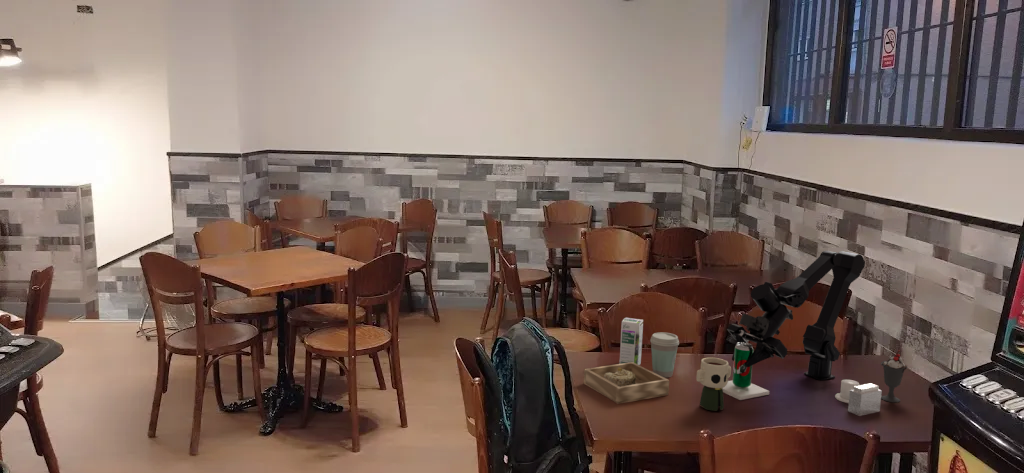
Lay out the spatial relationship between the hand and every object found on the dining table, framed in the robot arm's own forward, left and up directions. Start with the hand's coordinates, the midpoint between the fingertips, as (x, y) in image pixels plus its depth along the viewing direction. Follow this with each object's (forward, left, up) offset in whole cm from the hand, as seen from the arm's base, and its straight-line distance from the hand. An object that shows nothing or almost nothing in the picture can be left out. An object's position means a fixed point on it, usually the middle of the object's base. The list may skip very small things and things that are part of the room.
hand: (739, 363), depth 214 cm
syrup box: (+15, -31, -8) cm, 35 cm away
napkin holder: (-21, +25, -8) cm, 34 cm away
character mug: (+16, +7, -8) cm, 19 cm away
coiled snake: (+30, -16, -8) cm, 35 cm away
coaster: (-1, 0, -8) cm, 8 cm away
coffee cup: (+11, -20, -8) cm, 24 cm away
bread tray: (+29, -14, -8) cm, 33 cm away
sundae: (-36, +22, -8) cm, 43 cm away
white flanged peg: (-25, +17, -8) cm, 32 cm away
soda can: (-1, 0, -7) cm, 7 cm away
